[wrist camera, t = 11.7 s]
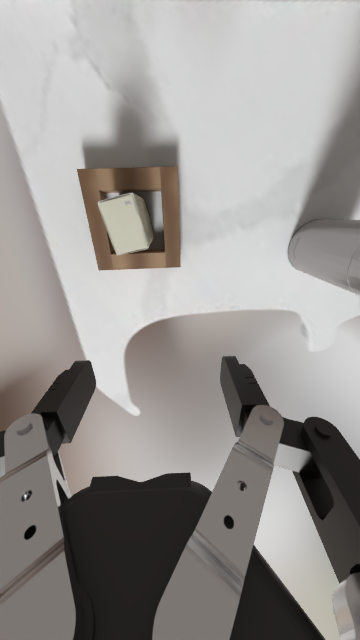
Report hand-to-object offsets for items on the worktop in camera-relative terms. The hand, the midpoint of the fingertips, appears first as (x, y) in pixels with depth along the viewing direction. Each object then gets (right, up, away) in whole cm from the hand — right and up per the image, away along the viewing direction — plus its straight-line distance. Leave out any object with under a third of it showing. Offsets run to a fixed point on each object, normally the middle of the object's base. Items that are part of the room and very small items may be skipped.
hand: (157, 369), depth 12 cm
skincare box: (-6, +20, +22) cm, 30 cm away
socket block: (-6, +20, +22) cm, 30 cm away
